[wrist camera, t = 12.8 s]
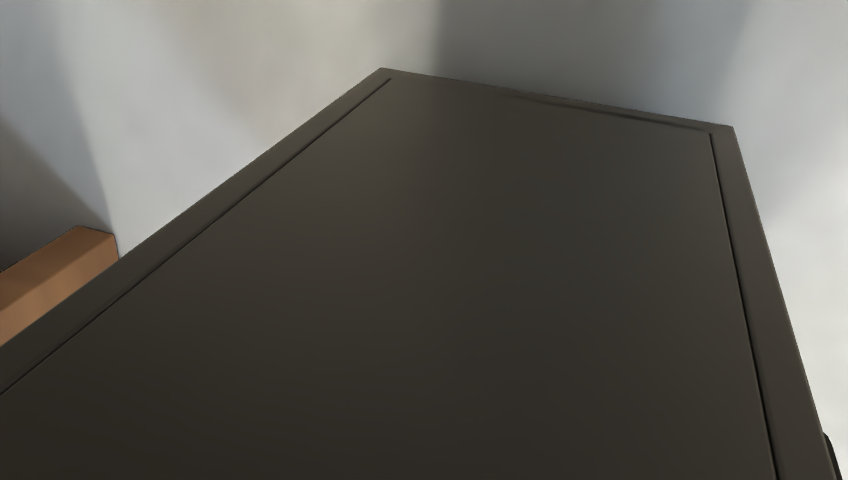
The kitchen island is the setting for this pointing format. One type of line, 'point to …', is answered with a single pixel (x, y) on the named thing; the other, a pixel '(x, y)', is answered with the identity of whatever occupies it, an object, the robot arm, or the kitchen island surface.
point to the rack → (51, 276)
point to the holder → (434, 310)
